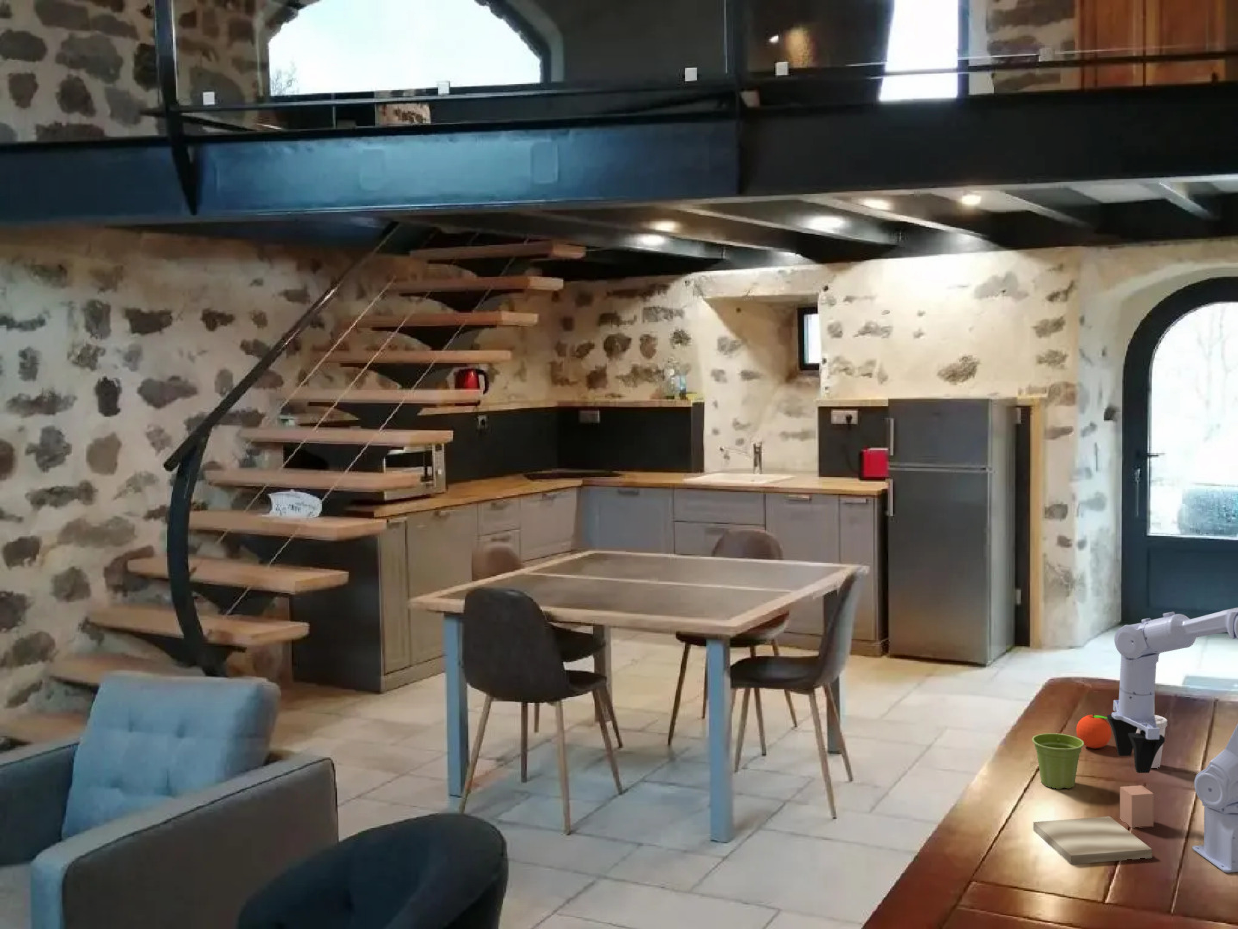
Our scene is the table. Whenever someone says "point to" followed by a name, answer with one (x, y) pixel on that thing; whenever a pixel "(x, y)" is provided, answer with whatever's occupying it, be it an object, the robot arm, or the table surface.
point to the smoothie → (1161, 725)
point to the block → (1136, 806)
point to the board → (1091, 840)
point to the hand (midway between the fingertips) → (1133, 763)
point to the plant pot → (1057, 758)
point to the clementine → (1094, 731)
